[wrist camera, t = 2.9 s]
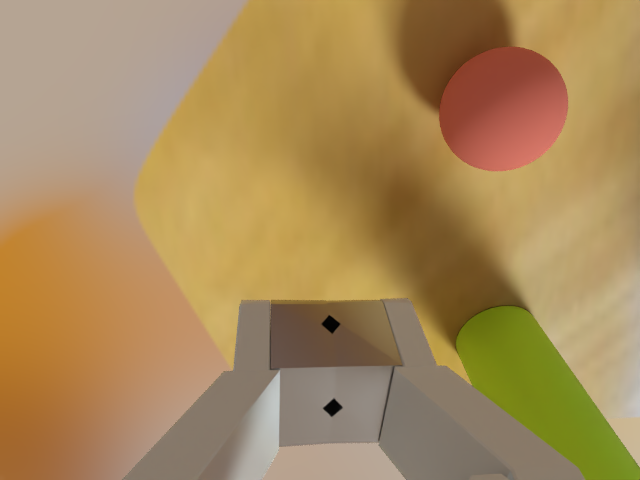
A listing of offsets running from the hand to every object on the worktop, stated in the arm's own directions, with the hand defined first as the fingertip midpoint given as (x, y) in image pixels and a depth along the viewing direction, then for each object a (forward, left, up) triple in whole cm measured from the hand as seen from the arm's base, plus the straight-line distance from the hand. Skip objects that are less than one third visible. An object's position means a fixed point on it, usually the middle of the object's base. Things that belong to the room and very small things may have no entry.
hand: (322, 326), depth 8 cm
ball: (-10, 0, -14) cm, 17 cm away
